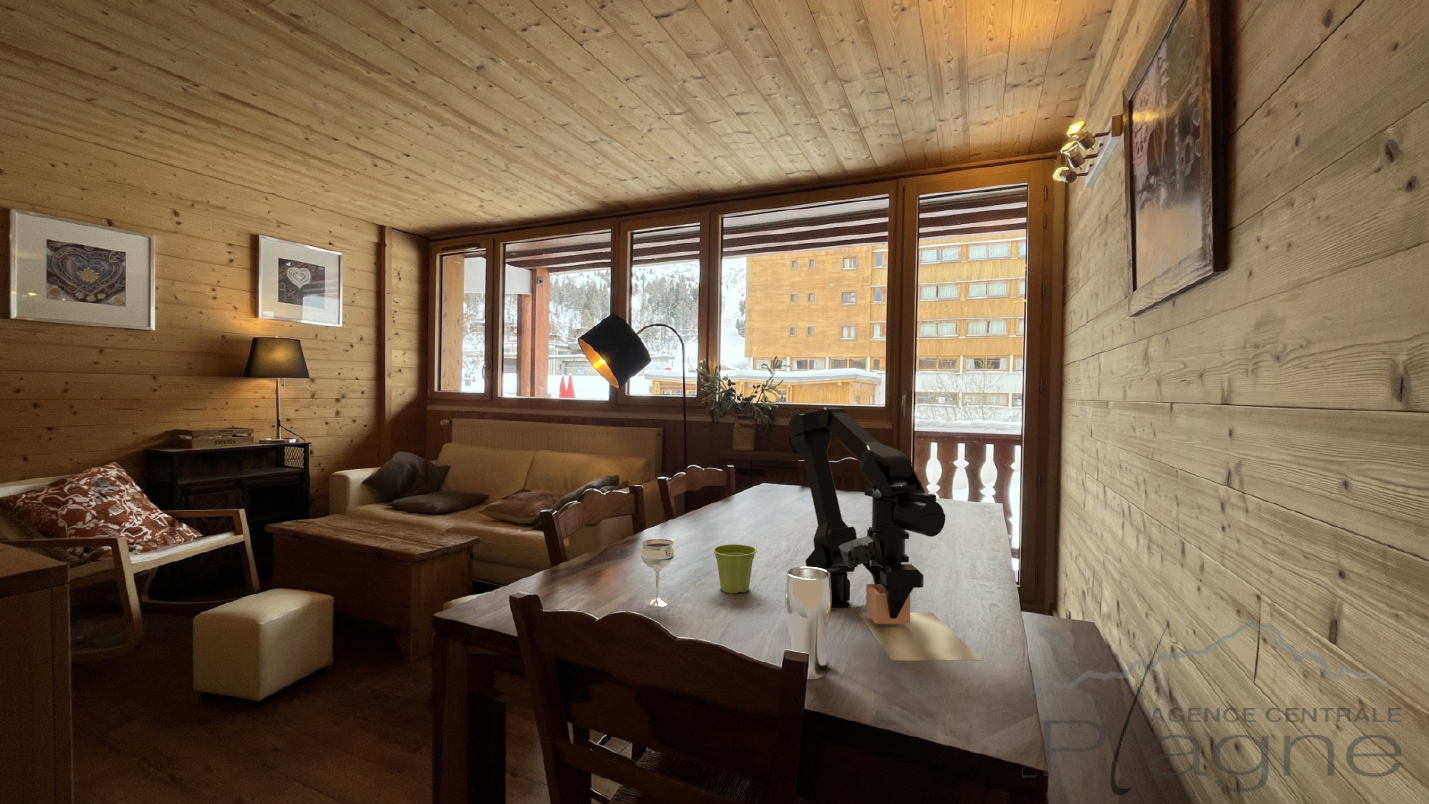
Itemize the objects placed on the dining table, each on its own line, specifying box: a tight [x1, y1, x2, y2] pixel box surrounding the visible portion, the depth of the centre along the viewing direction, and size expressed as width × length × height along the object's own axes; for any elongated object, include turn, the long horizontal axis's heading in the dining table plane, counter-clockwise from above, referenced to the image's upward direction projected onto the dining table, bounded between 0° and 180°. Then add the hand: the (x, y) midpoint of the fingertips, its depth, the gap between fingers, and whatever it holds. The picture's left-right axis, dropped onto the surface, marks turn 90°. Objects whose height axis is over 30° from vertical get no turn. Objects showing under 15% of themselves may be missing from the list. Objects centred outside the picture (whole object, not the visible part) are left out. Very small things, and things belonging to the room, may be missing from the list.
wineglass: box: [640, 538, 675, 608], centre depth 122 cm, size 7×7×12 cm
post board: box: [858, 611, 983, 662], centre depth 103 cm, size 14×20×6 cm
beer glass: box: [784, 566, 832, 680], centre depth 92 cm, size 7×7×15 cm
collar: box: [865, 583, 911, 624], centre depth 108 cm, size 6×6×5 cm
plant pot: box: [712, 543, 757, 594], centre depth 130 cm, size 9×9×9 cm
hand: (887, 611), depth 108 cm, fingers closed on collar, 6 cm apart
